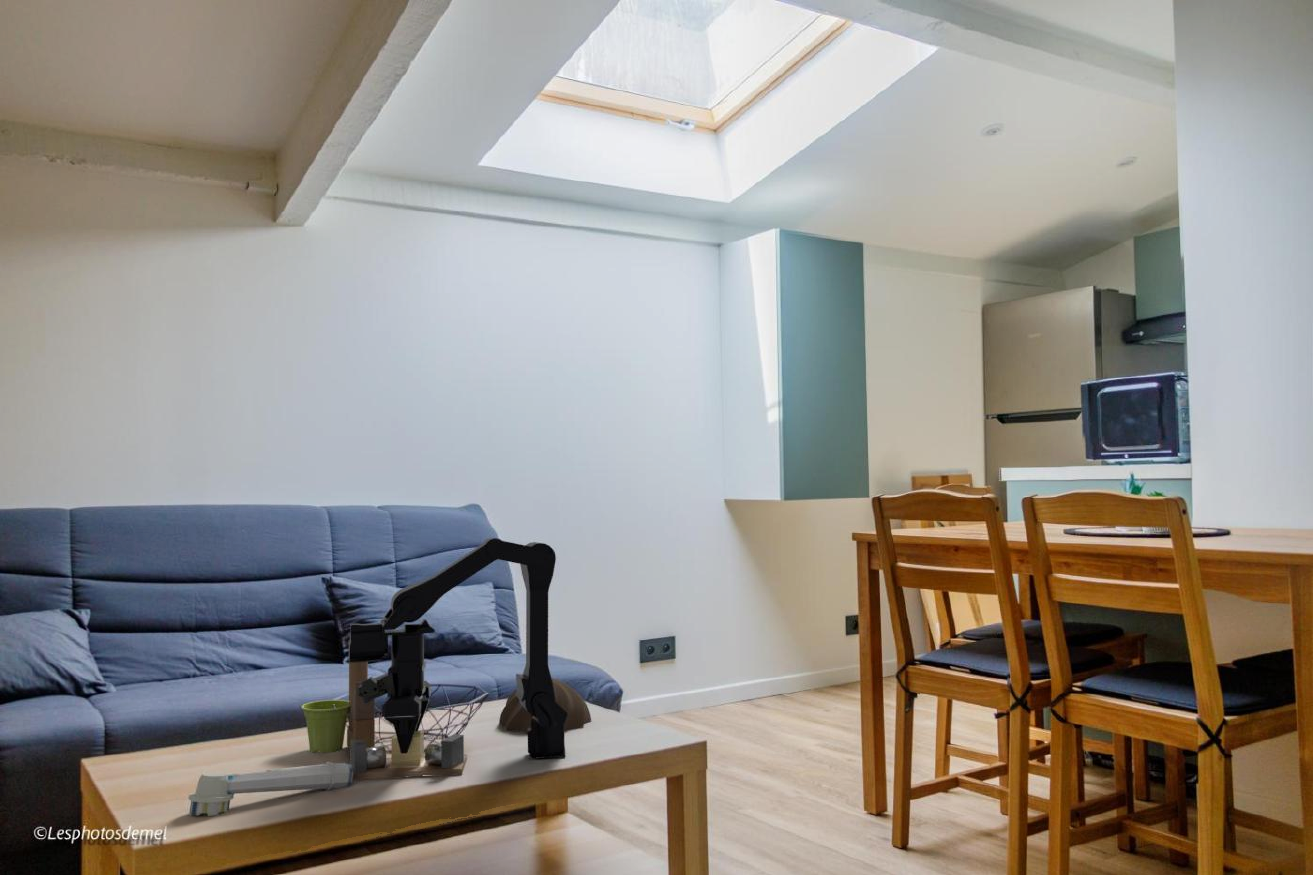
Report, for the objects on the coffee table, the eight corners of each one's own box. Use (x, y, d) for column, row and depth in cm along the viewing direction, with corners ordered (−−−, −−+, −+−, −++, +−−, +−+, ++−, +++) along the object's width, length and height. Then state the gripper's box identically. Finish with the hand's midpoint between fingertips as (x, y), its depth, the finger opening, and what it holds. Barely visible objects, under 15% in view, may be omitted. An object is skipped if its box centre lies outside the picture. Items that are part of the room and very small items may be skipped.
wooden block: (355, 759, 180) (355, 662, 182) (346, 746, 190) (347, 654, 191) (375, 756, 182) (375, 660, 183) (365, 744, 192) (366, 652, 193)
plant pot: (344, 741, 195) (344, 697, 195) (357, 750, 187) (357, 705, 187) (296, 748, 190) (296, 703, 190) (307, 758, 182) (307, 711, 182)
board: (466, 759, 179) (466, 753, 179) (461, 774, 169) (461, 768, 169) (355, 764, 176) (355, 759, 176) (344, 780, 166) (344, 774, 166)
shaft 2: (423, 767, 170) (423, 740, 170) (435, 760, 174) (435, 733, 175) (452, 769, 168) (451, 741, 169) (463, 762, 173) (463, 734, 173)
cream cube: (423, 758, 176) (423, 730, 176) (420, 765, 171) (420, 737, 171) (395, 759, 175) (395, 731, 176) (391, 767, 170) (391, 738, 171)
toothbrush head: (356, 764, 163) (199, 771, 147) (350, 805, 162) (191, 817, 146) (344, 758, 167) (190, 765, 151) (338, 798, 166) (183, 809, 150)
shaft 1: (381, 763, 173) (381, 736, 174) (386, 769, 169) (386, 741, 169) (350, 767, 171) (350, 740, 171) (354, 774, 167) (354, 745, 167)
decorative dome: (550, 739, 194) (549, 688, 195) (480, 727, 206) (479, 680, 206) (609, 720, 210) (608, 674, 211) (541, 710, 221) (540, 666, 222)
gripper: (371, 652, 183) (371, 736, 182) (351, 669, 164) (351, 762, 163) (431, 650, 184) (431, 733, 183) (418, 666, 165) (418, 759, 164)
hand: (407, 746), depth 173 cm, fingers open, 9 cm apart
